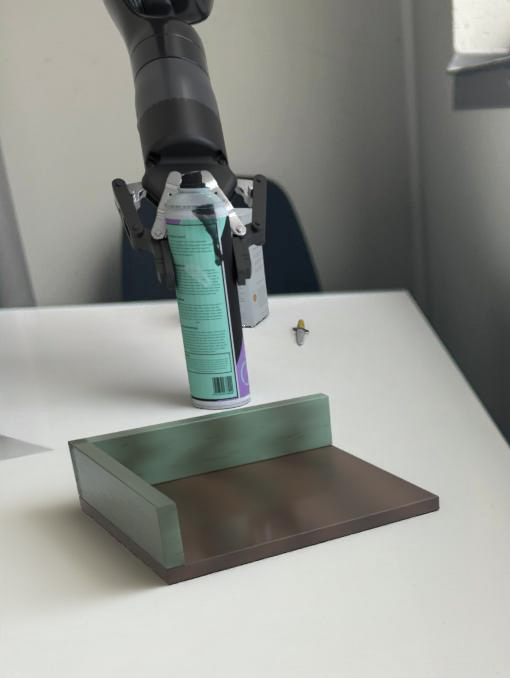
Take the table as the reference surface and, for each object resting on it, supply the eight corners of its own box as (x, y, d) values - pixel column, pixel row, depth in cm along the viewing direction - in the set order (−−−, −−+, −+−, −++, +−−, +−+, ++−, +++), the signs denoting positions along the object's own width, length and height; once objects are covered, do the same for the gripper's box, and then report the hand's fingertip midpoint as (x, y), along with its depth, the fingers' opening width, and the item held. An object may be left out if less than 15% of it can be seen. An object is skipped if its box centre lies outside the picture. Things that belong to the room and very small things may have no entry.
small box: (222, 314, 134) (209, 207, 128) (270, 314, 134) (259, 207, 128) (204, 327, 127) (189, 215, 121) (254, 327, 127) (242, 215, 121)
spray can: (262, 398, 98) (237, 170, 88) (220, 412, 94) (188, 174, 84) (222, 390, 101) (193, 168, 91) (179, 403, 97) (144, 172, 87)
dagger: (309, 343, 118) (291, 339, 118) (308, 350, 118) (290, 347, 118) (309, 319, 127) (293, 316, 126) (308, 326, 127) (292, 323, 127)
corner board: (169, 584, 62) (156, 507, 59) (81, 509, 73) (67, 441, 70) (439, 509, 72) (437, 440, 70) (326, 453, 83) (321, 392, 81)
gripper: (92, 95, 89) (117, 259, 85) (258, 94, 93) (289, 250, 89) (104, 159, 96) (127, 312, 92) (258, 155, 100) (287, 302, 96)
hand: (207, 281), depth 90 cm, fingers closed on spray can, 5 cm apart
